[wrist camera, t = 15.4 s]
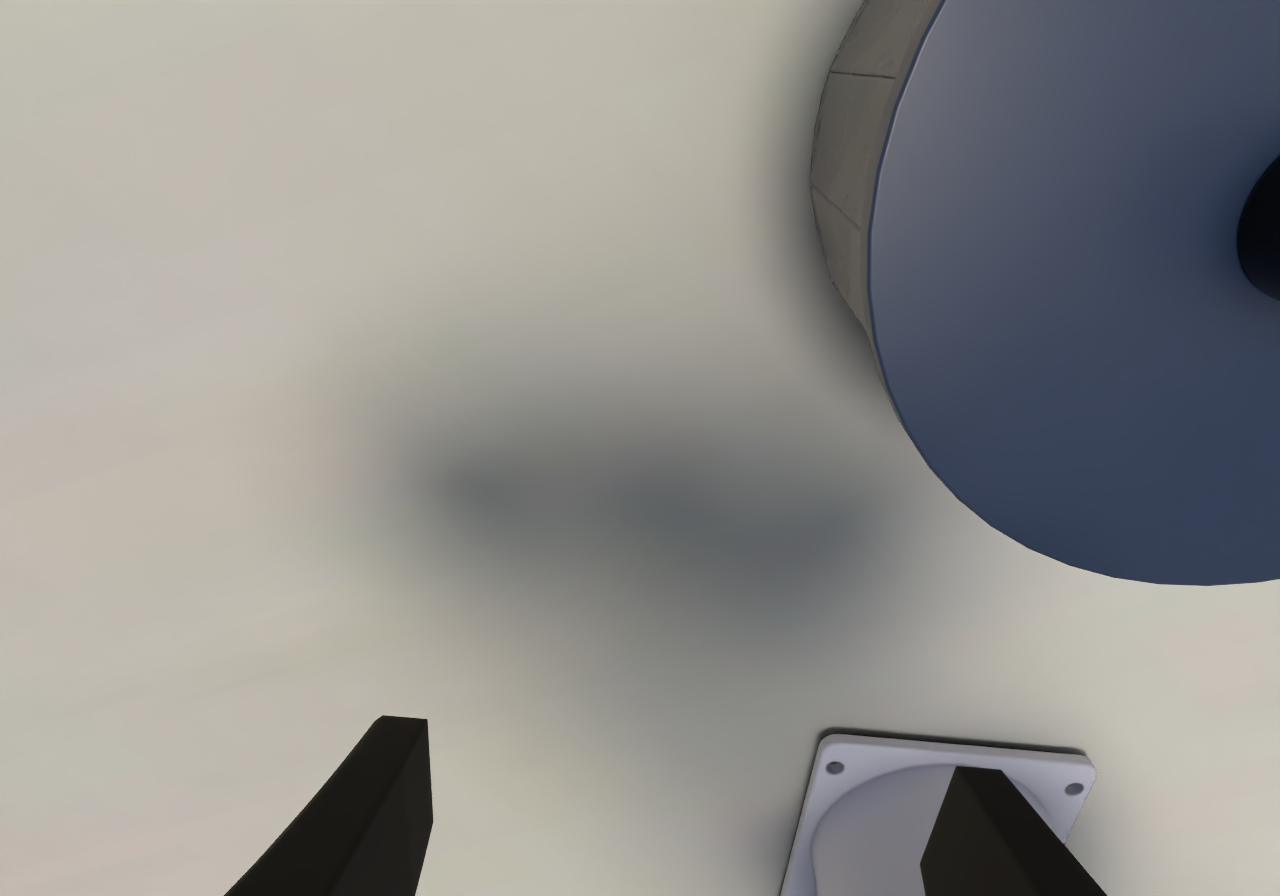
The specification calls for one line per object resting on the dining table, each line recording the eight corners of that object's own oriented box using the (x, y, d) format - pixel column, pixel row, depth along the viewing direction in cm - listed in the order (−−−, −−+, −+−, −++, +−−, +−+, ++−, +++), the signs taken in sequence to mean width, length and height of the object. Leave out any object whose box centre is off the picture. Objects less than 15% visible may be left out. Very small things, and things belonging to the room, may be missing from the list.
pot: (1216, 406, 18) (1478, 574, 12) (774, 366, 18) (823, 516, 12) (1464, -141, 13) (2077, -293, 8) (868, -196, 13) (1021, -391, 7)
